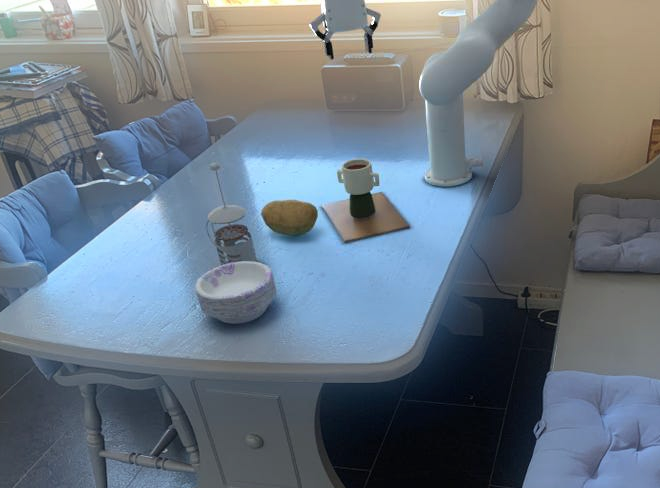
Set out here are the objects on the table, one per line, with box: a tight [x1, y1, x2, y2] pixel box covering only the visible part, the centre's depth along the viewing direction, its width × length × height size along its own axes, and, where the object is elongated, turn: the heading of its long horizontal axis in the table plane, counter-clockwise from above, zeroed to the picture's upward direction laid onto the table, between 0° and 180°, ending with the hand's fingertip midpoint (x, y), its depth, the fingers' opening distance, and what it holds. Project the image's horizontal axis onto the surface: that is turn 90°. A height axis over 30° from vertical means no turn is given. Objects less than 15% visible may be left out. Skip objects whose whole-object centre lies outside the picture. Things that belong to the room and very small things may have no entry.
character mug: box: [336, 158, 380, 218], centre depth 182 cm, size 11×7×13 cm, turn 68°
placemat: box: [321, 191, 411, 244], centre depth 186 cm, size 16×22×1 cm
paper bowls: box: [194, 261, 277, 325], centre depth 152 cm, size 15×15×8 cm
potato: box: [260, 199, 319, 236], centre depth 179 cm, size 10×14×8 cm
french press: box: [205, 162, 258, 266], centre depth 161 cm, size 10×12×25 cm
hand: (350, 55), depth 185 cm, fingers open, 9 cm apart
